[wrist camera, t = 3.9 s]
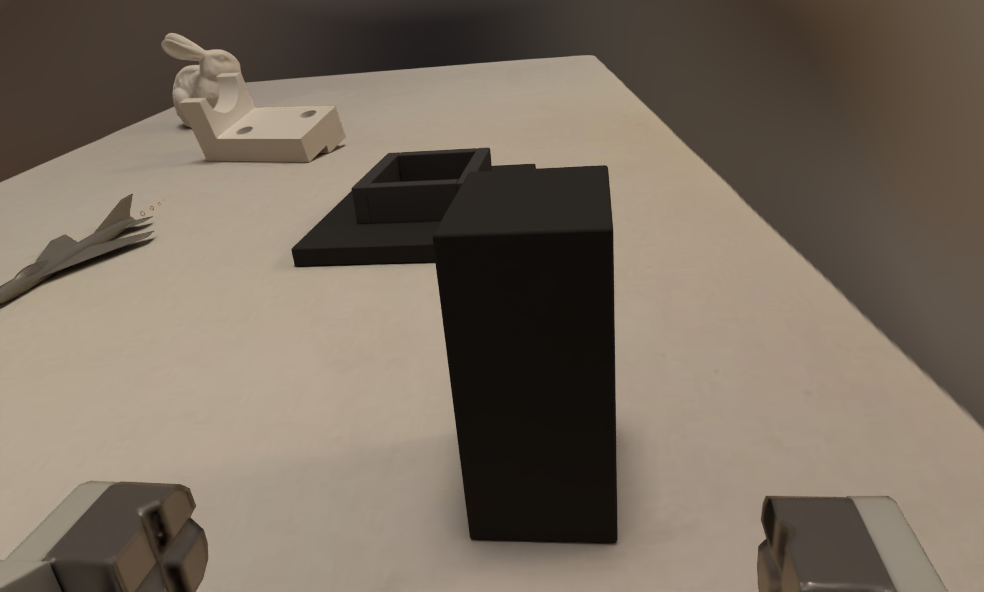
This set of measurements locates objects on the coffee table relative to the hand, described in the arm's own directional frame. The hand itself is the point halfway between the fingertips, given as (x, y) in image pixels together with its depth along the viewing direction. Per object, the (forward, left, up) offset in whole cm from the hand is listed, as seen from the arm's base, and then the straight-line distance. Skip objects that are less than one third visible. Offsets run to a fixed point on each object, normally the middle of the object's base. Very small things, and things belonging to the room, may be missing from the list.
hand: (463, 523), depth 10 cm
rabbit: (+49, -84, -9) cm, 97 cm away
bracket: (+32, -64, -9) cm, 72 cm away
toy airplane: (+34, -36, -9) cm, 50 cm away
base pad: (+10, -41, -9) cm, 43 cm away
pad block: (0, -12, -9) cm, 15 cm away
